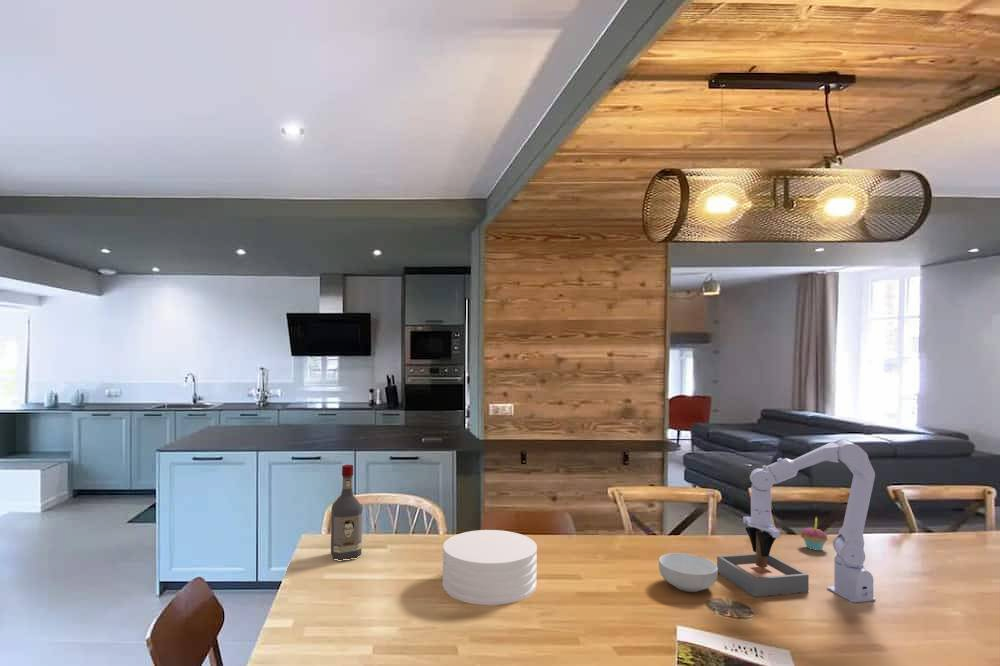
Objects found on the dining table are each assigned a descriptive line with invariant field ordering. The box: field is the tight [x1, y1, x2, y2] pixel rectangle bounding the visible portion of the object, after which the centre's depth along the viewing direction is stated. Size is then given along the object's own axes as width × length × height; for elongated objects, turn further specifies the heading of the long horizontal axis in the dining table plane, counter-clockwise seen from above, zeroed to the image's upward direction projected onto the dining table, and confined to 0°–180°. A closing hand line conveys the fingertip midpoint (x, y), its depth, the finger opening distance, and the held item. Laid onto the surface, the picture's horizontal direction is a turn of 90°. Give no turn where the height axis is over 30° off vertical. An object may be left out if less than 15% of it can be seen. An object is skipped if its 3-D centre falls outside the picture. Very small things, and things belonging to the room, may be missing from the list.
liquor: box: [330, 464, 363, 560], centre depth 187 cm, size 9×9×30 cm
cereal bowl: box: [658, 552, 719, 593], centre depth 166 cm, size 17×17×7 cm
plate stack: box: [442, 529, 538, 606], centre depth 166 cm, size 28×28×12 cm
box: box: [716, 552, 810, 598], centre depth 170 cm, size 18×18×5 cm
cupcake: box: [799, 516, 828, 551], centre depth 199 cm, size 9×8×12 cm
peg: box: [755, 531, 767, 567], centre depth 170 cm, size 3×3×10 cm
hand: (760, 553), depth 170 cm, fingers closed on peg, 3 cm apart
